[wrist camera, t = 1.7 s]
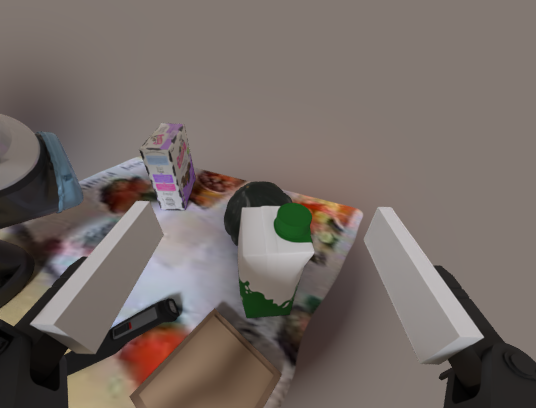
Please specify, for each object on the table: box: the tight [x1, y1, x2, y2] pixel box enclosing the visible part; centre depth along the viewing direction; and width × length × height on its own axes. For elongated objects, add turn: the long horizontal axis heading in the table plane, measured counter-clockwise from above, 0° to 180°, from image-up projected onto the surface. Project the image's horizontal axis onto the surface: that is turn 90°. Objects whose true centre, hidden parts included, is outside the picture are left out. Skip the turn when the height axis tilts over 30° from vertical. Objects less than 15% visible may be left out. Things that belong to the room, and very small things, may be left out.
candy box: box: [139, 123, 196, 210], centre depth 50 cm, size 14×6×16 cm, turn 4°
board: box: [129, 308, 282, 408], centre depth 26 cm, size 13×13×2 cm
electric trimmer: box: [64, 299, 179, 376], centre depth 30 cm, size 4×16×3 cm, turn 124°
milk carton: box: [238, 203, 315, 318], centre depth 30 cm, size 9×9×20 cm
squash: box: [224, 182, 292, 246], centre depth 43 cm, size 14×15×15 cm
